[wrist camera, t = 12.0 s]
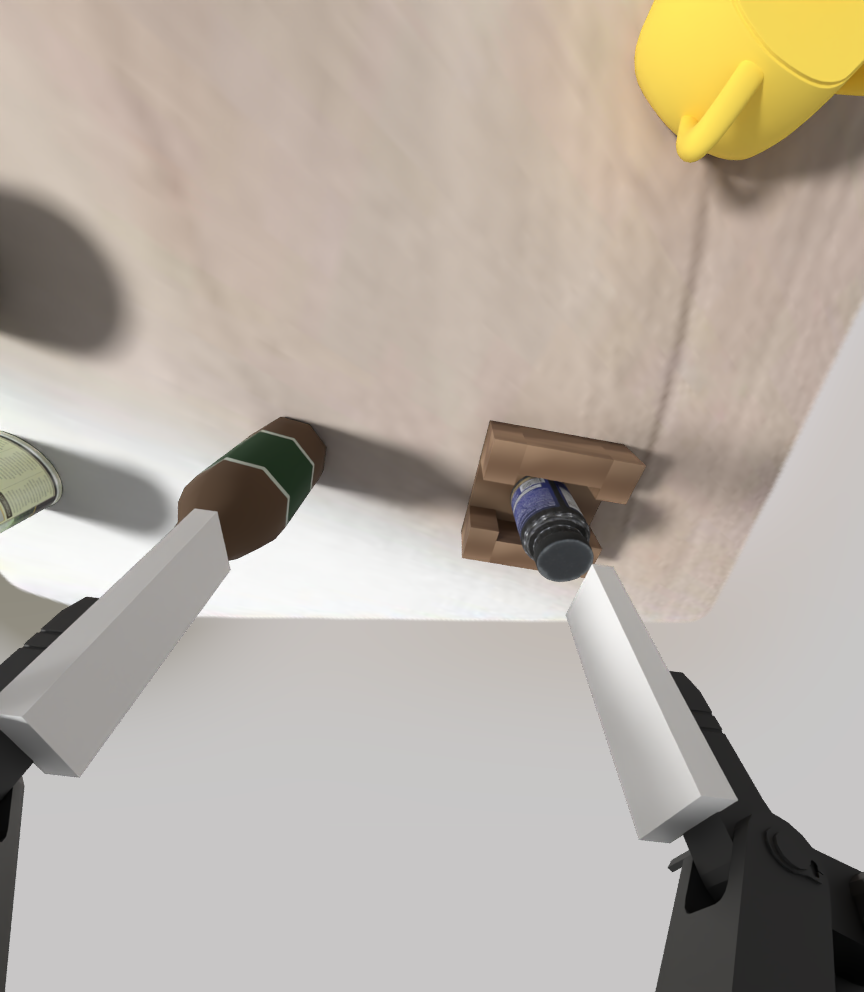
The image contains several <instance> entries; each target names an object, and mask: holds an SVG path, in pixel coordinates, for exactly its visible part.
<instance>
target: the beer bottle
mask: <svg viewBox="0 0 864 992" xmlns="http://www.w3.org/2000/svg"><path fill="white" fill-rule="evenodd" d="M325 453H326V446H325V445H324V443H323V442H322V441H321V439H320V438H319V437H318V435H317V434H316V433H315V431H314V430H313V429H312V427H311V426H310V425H309V424H306V423H302V422H299V421H295V420H291V419H288V418H284V417H280V418H278V419H276V420H275V421H273V422H271V423H270V424H268V425H267V426H265V427H263V428H262V429H260V430H258V431H257V432H255V433H254V434H252V435H250V436H249V437H248V438H246V439H245V440H244V441H243V442H241V443H240V444H239V445H237V446H236V447H235V448H233V449H232V450H231V451H229V452H228V453H227V454H225V455H224V456H223V457H221V458H220V459H219V460H217V461H216V462H215V463H213V464H212V465H211V466H209V467H208V468H207V469H205V470H204V471H203V472H201V473H200V474H199V475H197V476H196V477H195V478H194V479H193V480H192V481H191V482H190V483H189V484H188V485H187V486H186V487H185V488H184V490H183V492H182V495H181V497H180V499H179V502H178V523H177V524H176V526H177V525H178V524H179V523H180V522H181V521H182V520H183V519H184V518H185V517H186V516H187V515H188V514H189V513H190V512H191V511H192V510H194V509H202V510H209V511H216V512H218V517H219V521H220V525H221V530H222V534H223V539H224V543H225V548H226V552H227V557H228V561H229V560H234V559H238V558H240V557H242V556H244V555H246V554H248V553H250V552H252V551H254V550H256V549H259V548H260V547H262V546H264V545H266V544H267V543H269V542H271V541H273V540H274V539H276V537H277V536H278V535H279V534H280V533H281V532H282V530H283V529H284V528H285V527H286V526H287V524H288V523H289V521H290V520H291V518H292V517H293V515H294V514H295V513H296V511H297V510H298V508H299V507H300V505H301V504H302V502H303V501H304V499H305V498H306V497H307V495H308V494H309V492H310V491H311V489H312V488H313V486H314V485H315V484H316V482H317V481H318V479H319V477H320V476H321V474H322V472H323V468H324V461H325ZM176 526H175V527H176Z"/></svg>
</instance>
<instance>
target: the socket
mask: <svg viewBox="0 0 864 992" xmlns="http://www.w3.org/2000/svg"><path fill="white" fill-rule="evenodd" d="M645 467H646V465H645V464H644V463H643V462H642V461H640V460H639V459H638V458H637V457H636V456H635V455H634V454H633V453H632V452H631V451H630V450H629V449H628V448H627V447H626V446H625V445H624V444H618V443H613V442H607V441H602V440H596V439H590V438H585V437H579V436H574V435H568V434H563V433H557V432H552V431H546V430H540V429H535V428H529V427H524V426H518V425H513V424H507V423H502V422H496V421H490V422H489V426H488V430H487V434H486V438H485V441H484V445H483V449H482V453H481V457H480V461H479V465H478V469H477V472H476V476H475V480H474V484H473V488H472V492H471V496H470V499H469V503H468V507H467V511H466V515H465V519H464V523H463V526H462V530H461V534H462V558H466V559H472V560H478V561H484V562H490V563H496V564H502V565H508V566H514V567H520V568H526V569H533V570H538V569H537V566H536V563H535V561H534V560H533V559H531V558H530V557H529V556H528V555H527V554H526V552H525V551H524V549H523V547H522V544H521V540H520V536H519V532H518V529H517V525H516V522H515V518H514V514H513V511H512V507H511V504H510V494H511V491H512V489H513V487H514V486H515V485H516V483H517V482H518V481H519V480H520V479H522V478H523V477H525V476H531V477H537V478H543V479H548V480H554V481H560V482H564V484H565V485H566V487H567V488H568V490H569V492H570V494H571V495H572V497H573V499H574V501H575V502H576V504H577V506H578V508H579V509H580V511H581V513H582V515H583V516H584V518H585V520H586V522H587V524H588V525H590V523H591V521H592V519H593V517H594V515H595V513H596V511H597V509H598V507H599V505H600V503H601V501H608V502H614V503H620V504H626V503H627V501H628V499H629V497H630V496H631V494H632V492H633V490H634V488H635V486H636V484H637V482H638V480H639V479H640V477H641V475H642V473H643V471H644V469H645ZM589 529H590V540H589V544H590V546H591V548H592V551H593V555H594V559H593V563H592V564H595V562H596V560H597V558H598V556H599V554H600V552H601V551H602V548H601V546H600V544H599V542H598V541H597V539H596V537H595V535H594V533H593V532H592V530H591V528H590V526H589ZM588 571H589V570H588ZM588 571H587V572H586V573H585V574H583V575H582V576H580V577H581V578H585V577H586V575H587V573H588Z"/></svg>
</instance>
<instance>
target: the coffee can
mask: <svg viewBox="0 0 864 992" xmlns="http://www.w3.org/2000/svg"><path fill="white" fill-rule="evenodd" d="M61 495H62V483H61V480H60V477H59V475H58V473H57V472H56V470H55V468H54V467H53V466H52V464H51V463H50V462H49V461H48V460H47V459H46V458H45V457H44V456H43V455H42V454H41V453H40V452H39V451H38V450H37V449H35V448H34V447H33V446H31V445H30V444H28V443H26V442H25V441H23V440H21V439H19V438H17V437H15V436H13V435H10V434H7V433H5V432H1V431H0V533H2V532H3V531H5V530H7V529H9V528H11V527H12V526H14V525H16V524H18V523H20V522H21V521H23V520H25V519H27V518H29V517H31V516H32V515H34V514H36V513H38V512H39V511H41V510H43V509H45V508H46V507H48V506H51V505H53V504H55V503H56V502H57V501H58V500H59V499H60V497H61Z"/></svg>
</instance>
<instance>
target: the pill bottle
mask: <svg viewBox="0 0 864 992" xmlns="http://www.w3.org/2000/svg"><path fill="white" fill-rule="evenodd" d="M510 504H511V507H512V511H513V514H514V518H515V522H516V525H517V529H518V532H519V536H520V540H521V544H522V547H523V549H524V551H525V552H526V554H527V555H528V556H529V557H530V558H531V559H533V560H534V561H535V563H536V566H537V569H538V571H539V572H540V574H541V575H542V576H544V577H545V578H547V579H549V580H552V581H557V582H564V581H571V580H574V579H577V578H579V577H580V576H582V575H583V574H585V573H586V572H587V571H588V570H589V569H590V567H591V565H592V563H593V559H594V555H593V551H592V548H591V546H590V544H589V540H590V529H589V525H588V524H587V522H586V520H585V518H584V516H583V515H582V513H581V511H580V509H579V508H578V506H577V504H576V502H575V501H574V499H573V497H572V495H571V494H570V492H569V490H568V488H567V487H566V485H565V484H564V482H560V481H554V480H548V479H543V478H537V477H531V476H525V477H523V478H522V479H520V480H519V481H518V482H517V483H516V485H515V486H514V487H513V489H512V491H511V494H510Z"/></svg>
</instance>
